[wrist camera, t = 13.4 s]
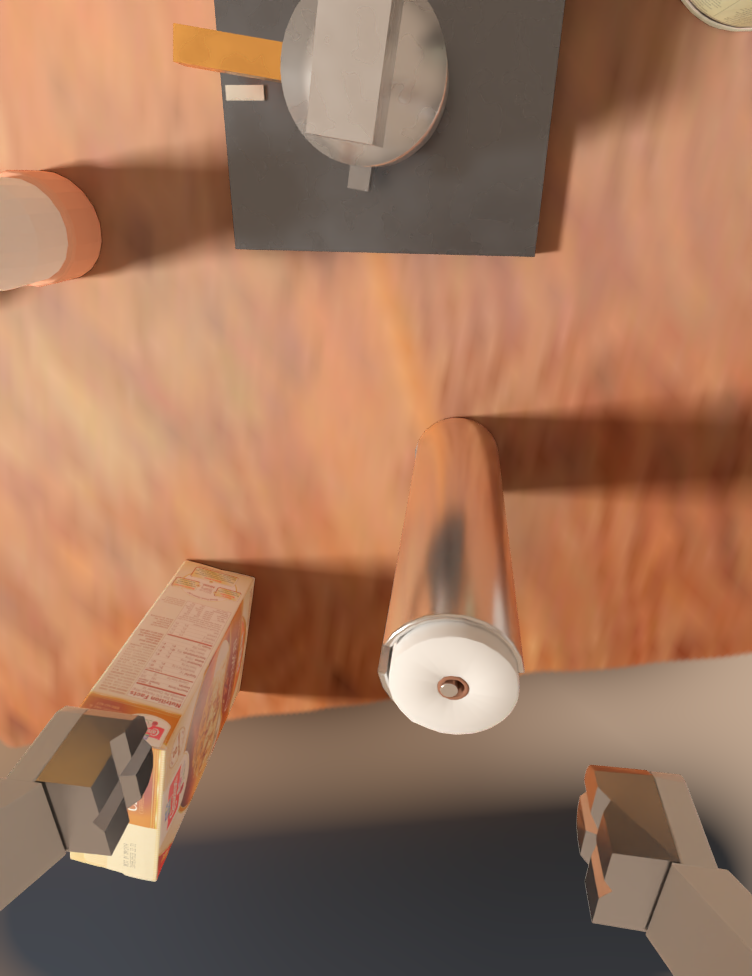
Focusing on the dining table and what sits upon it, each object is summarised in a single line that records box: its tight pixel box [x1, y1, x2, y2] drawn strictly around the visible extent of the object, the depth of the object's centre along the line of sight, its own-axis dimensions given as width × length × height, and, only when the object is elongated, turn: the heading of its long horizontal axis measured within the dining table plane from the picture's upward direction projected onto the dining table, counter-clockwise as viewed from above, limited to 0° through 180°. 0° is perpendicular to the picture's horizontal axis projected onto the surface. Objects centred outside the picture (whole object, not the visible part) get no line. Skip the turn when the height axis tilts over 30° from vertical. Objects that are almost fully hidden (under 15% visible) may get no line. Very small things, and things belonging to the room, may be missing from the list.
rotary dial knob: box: [173, 0, 449, 192], centre depth 30 cm, size 14×10×9 cm
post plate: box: [214, 0, 565, 257], centre depth 36 cm, size 20×19×5 cm
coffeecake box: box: [70, 560, 255, 881], centre depth 51 cm, size 15×7×20 cm, turn 168°
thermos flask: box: [378, 418, 525, 735], centre depth 37 cm, size 6×6×25 cm
